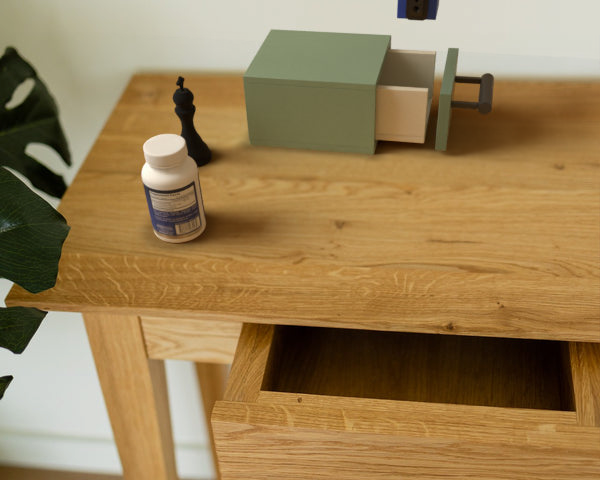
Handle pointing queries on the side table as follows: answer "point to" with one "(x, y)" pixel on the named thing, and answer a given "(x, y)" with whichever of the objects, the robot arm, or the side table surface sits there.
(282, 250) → the side table surface
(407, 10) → the robot arm
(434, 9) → the blue rectangular box
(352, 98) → the green drawer cabinet
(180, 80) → the chess piece
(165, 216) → the pill bottle
